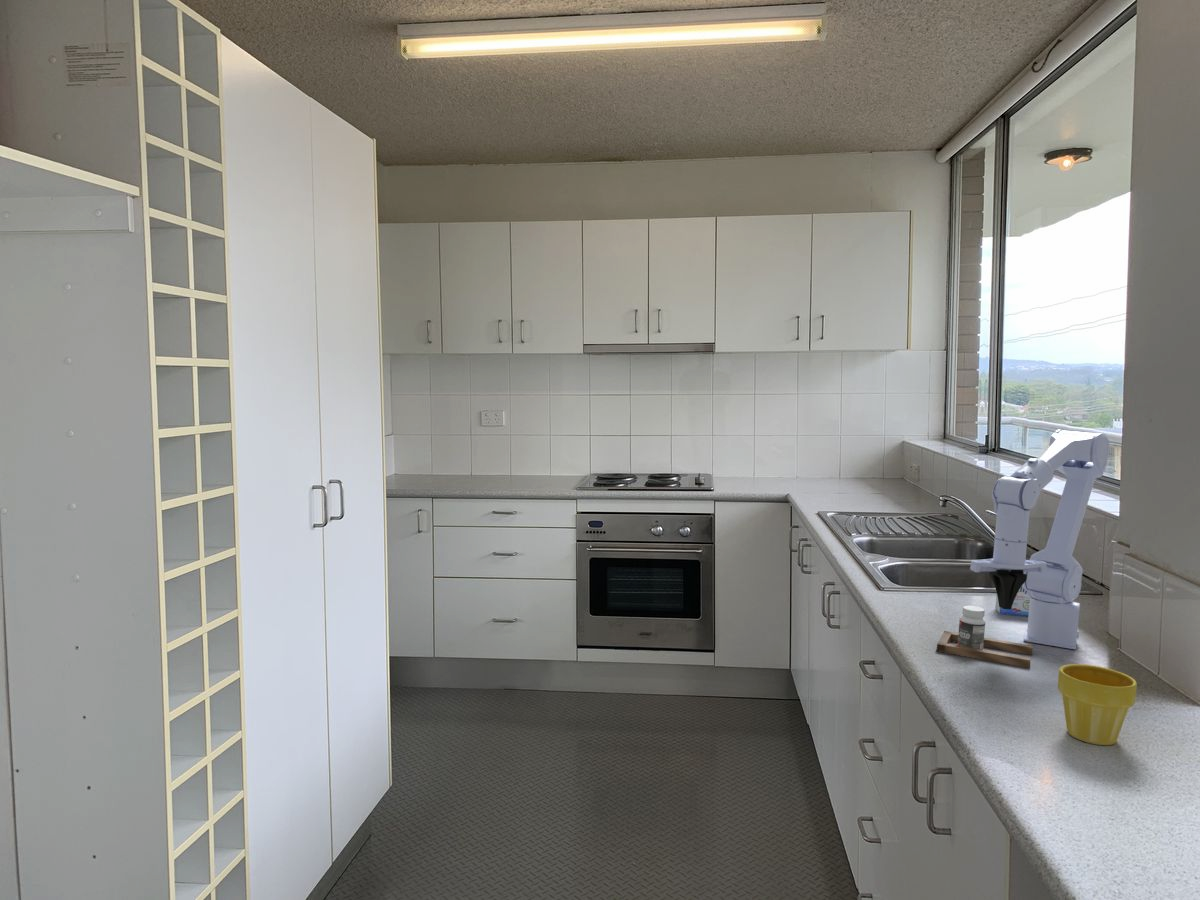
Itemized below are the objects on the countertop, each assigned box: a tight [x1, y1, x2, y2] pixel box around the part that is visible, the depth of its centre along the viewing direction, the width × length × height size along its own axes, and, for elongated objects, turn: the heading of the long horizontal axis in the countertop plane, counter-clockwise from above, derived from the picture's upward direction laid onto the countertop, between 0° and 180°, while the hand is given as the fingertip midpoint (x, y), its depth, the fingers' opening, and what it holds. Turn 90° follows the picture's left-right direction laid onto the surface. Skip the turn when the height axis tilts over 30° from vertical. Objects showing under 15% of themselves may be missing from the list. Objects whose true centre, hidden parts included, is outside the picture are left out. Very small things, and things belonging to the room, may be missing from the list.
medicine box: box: [994, 585, 1030, 617], centre depth 202 cm, size 8×4×9 cm, turn 76°
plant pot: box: [1057, 663, 1138, 746], centre depth 135 cm, size 10×10×10 cm
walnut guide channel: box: [936, 630, 1034, 669], centre depth 174 cm, size 16×10×2 cm, turn 61°
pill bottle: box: [956, 605, 986, 650], centre depth 175 cm, size 5×5×8 cm
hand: (1004, 607), depth 172 cm, fingers closed
